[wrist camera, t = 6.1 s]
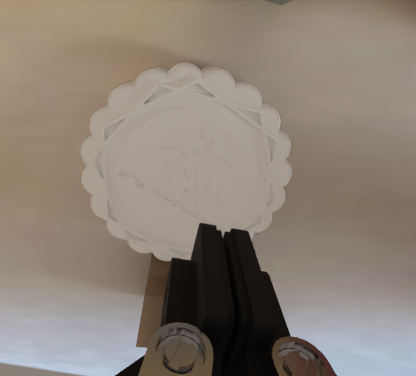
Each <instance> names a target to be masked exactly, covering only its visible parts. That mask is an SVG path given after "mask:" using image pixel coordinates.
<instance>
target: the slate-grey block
mask: <svg viewBox="0 0 416 376" xmlns="http://www.w3.org/2000/svg"><path fill="white" fill-rule="evenodd" d="M266 1H269V2H273V3H276V4H280V5H284V4H286V3H288V2H290V1H291V0H266Z"/></svg>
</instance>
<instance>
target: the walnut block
mask: <svg viewBox="0 0 416 376" xmlns="http://www.w3.org/2000/svg"><path fill="white" fill-rule="evenodd" d="M179 259H180V258H179ZM170 263H171V261H162V260H160V259H158V258H156V257H155V256H154V254H152V259H151V265H150V270H149V275H148V281H147V286H146V292H145V297H144V303H143V309H142V315H141V321H140V327H139V333H138V339H137V345H136V347H146V348H148V345H149V342H150V340H151V338H152V336H153V334H154V333H155V332H156V331H157V330H158V329H159V328H160V324H161V316H162V308H163V300H164V294H165V288H166V282H167V277H168V272H169V267H170Z"/></svg>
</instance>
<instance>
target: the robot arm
mask: <svg viewBox="0 0 416 376" xmlns="http://www.w3.org/2000/svg"><path fill="white" fill-rule="evenodd" d="M115 376H337V375H336V374H335V372H334V370H333V369H332V367H331V365H330V363H329V362H328V360H327V359H326V358H325V356H324V355H323V354H322V353H321V352H320V351H319V350H318V349H317V348H316V347H315V346H313V345H312V344H310V343H309V342H307V341H305V340H303V339H300V338H298V337H291V336H290V333H289V330H288V328H287V325H286V322H285V319H284V316H283V313H282V311H281V308H280V305H279V302H278V299H277V296H276V293H275V291H274V288H273V285H272V282H271V279H270V276H269V274H268V273H267V272H263V271H261V269H260V266H259V263H258V260H257V257H256V254H255V250H254V247H253V244H252V241H251V238H250V235H249V232H248V231H246V230H240V229H234V228H232V229H231V230H230V232H227V231H225V233H224V236H223V237H222V231H221V230H217V228H216V225H211V224H205V223H200V224H199V227H198V230H197V235H196V239H195V243H194V247H193V251H192V255H191V260H185V259H179V258H173V257H172V259H171V263H170V267H169V272H168V277H167V282H166V288H165V294H164V300H163V308H162V316H161V324H160V328H159V329H158V330H157V331H156V332H155V333H154V334H153V336H152V338H151V340H150V342H149V345H148V348H147V351H146V354H145V355H144V356H143V357H141V358H140V359H138V360H137V361H135V362H134V363H133V364H131V365H130V366H128V367H127V368H125V369H124V370H123V371H121V372H120V373H118V374H117V375H115Z"/></svg>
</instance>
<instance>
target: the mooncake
mask: <svg viewBox="0 0 416 376" xmlns="http://www.w3.org/2000/svg"><path fill="white" fill-rule="evenodd" d="M280 124H281V119H280V115H279V113H278V111H277V110H276V109H275V108H274V107H273V106H271V105H269V104H267V103H266V102H264V101H262V98H261V94H260V92H259V90H258V89H257V88H256V87H255V86H254V85H252V84H251V83H248V82H245V81H243V80H240V79H234V78H233V77H232V75H231V74H230V73H229V72H228V71H226V70H225V69H222V68H219V67H215V66H208V67H205V68H203V69H201V70H200V69H199V68H198V67H197V66H195V65H194V64H192V63H189V62H180V63H177V64H175V65H174V66H173V67H172V68H170V70H167V69H165V68H162V67H153V68H150V69H147V70H145V71H143V72H142V73H140V74H139V76H138V77H137V78H136V81H129V82H126V83H124V84H122V85H120V86H117V87H116V88H115V89H113V91H112V92H111V93H110V95H109V98H108V104H107V105H105V106H104V107H102V108H100V109H99V110H97V111H96V112H95V113H94V114H93V115H92V117H91V119H90V123H89V128H90V132H91V135H90V136H89V137H88V138H86V139H85V140H84V142H83V143H82V145H81V150H80V153H81V158H82V160H83V162H84V163H85V164H86V165H87V166H86V167H85V168H84V170H83V172H82V175H81V182H82V185H83V187H84V188H85V190H86V191H87V192H88V193H90V194H91V195H92V197H91V201H90V205H91V209H92V211H93V212H94V214H95V215H96V216H98V217H99V218H101V219H104V220H107V222H106V225H107V229H108V231H109V232H110V233H111V234H112V235H113V236H114V237H116V238H118V239H123V240H127V241H128V244H129V246H130V247H131V248H132V249H133V250H135V251H136V252H139V253H151V252H152V253H153V254H154V256H155V257H156V258H158V259H160V260H162V261H171V259H172V257H173V258H180V259H185V260H191V255H192V251H193V247H194V243H195V239H196V235H197V230H198V227H199V224H200V223H205V224H211V225H216V228H217V230H221V231H222V237H223V236H224V233H225V231H227V232H230V230H231V229H232V228H234V229H240V230H246V231H248V232H249V235H250V238H251V241H252V239H253V237H254V233H259V232H262V231H264V230H265V229H267V228H268V227H269V225H270V224H271V222H272V217H273V216H272V212H275V211H277V210H278V209H280V208H281V207H282V205H283V204H284V202H285V198H286V193H285V190H284V188H283V187H284V186H286V185H287V184H288V182H289V181H290V179H291V177H292V167H291V164H290V163H289V161H288V160H287V159H286V158H287V157H288V155H289V153H290V150H291V142H290V139H289V137H288V136H287V135H286V134H285V133H284V132H283V131H282V130H280Z"/></svg>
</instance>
